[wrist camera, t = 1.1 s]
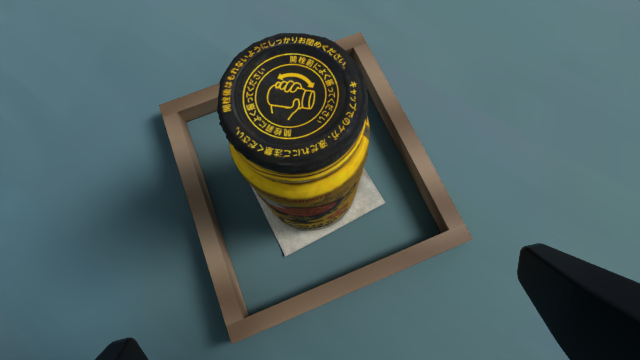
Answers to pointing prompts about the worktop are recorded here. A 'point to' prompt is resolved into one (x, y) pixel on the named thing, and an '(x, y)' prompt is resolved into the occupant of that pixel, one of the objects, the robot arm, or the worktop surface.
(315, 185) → the condiment
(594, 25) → the worktop surface
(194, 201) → the walnut frame
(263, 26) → the worktop surface
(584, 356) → the robot arm
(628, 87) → the worktop surface
